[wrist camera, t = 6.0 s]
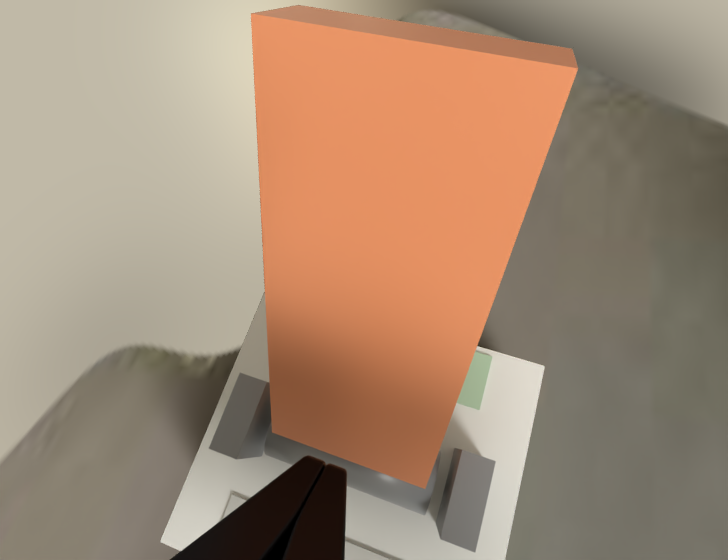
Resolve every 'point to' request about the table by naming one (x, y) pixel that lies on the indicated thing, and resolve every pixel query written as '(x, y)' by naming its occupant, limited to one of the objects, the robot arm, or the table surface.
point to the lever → (388, 226)
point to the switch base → (363, 511)
